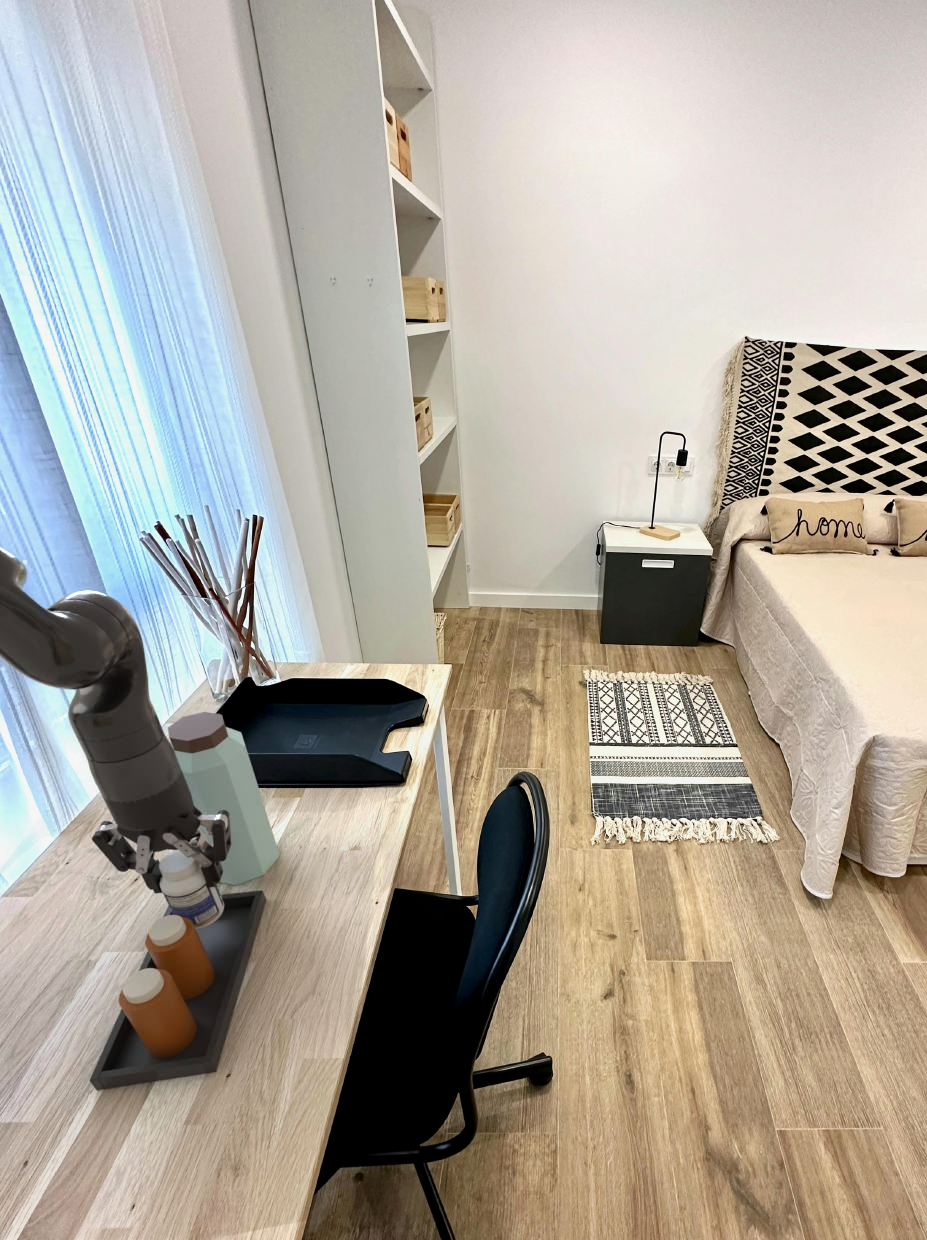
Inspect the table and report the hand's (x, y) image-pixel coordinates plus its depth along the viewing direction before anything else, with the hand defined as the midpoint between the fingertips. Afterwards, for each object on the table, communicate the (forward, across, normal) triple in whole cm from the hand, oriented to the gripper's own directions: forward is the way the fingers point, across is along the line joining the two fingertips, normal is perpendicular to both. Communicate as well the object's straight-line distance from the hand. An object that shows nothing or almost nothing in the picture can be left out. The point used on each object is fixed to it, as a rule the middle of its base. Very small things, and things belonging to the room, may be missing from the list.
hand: (188, 884), depth 77 cm
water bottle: (+11, -1, -13) cm, 17 cm away
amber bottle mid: (+9, 0, +7) cm, 12 cm away
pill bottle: (+6, 0, 0) cm, 6 cm away
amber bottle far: (+9, 0, +14) cm, 17 cm away
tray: (+10, 0, +7) cm, 13 cm away
